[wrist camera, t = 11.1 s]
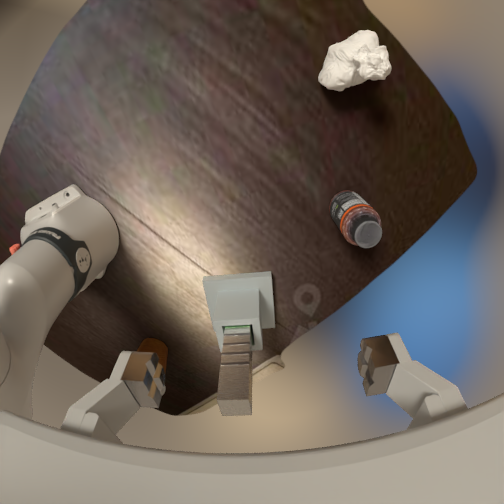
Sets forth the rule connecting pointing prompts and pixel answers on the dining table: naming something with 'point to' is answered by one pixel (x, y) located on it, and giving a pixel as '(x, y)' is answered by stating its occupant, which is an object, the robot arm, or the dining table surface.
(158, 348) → the disposable coffee cup
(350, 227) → the supplement bottle
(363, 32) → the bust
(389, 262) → the dining table surface
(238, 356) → the column
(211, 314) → the stand base
